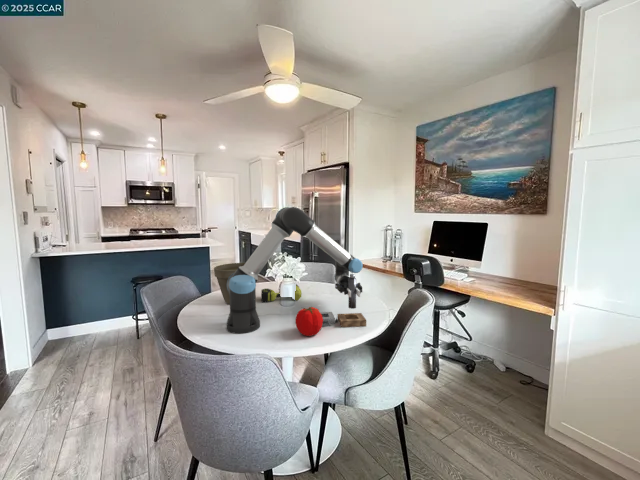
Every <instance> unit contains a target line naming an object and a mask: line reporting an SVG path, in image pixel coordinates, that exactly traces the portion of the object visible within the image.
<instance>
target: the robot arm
mask: <svg viewBox="0 0 640 480" xmlns="http://www.w3.org/2000/svg"><path fill="white" fill-rule="evenodd" d="M293 232H294V233H296V234H298V235H300V236H301V237H306V238H307V239H308V240H309V241H310V242H312V243H313V244H314V245H315V246H316V247H318V248H320V250H322V251H323V252H324V253H326V254H327V255H328V256H330V257H331V258H332V259H333V260H334V261H335V262H334V263H335V265H334V266H335V273H334V281H335V284H334V288H335V289H336V290H337V291H338V292H339V293H340V294H343V295H346V296H348V298H349V297H351V291H350V290H349V278H350V274H351V273H352V274H358V273H360V272H362V271H363V270H362V269H363V266H364V265H363V262H362V260H360V259H359V258H356V257H355V256H354V255H352V254H351V253H350V252H349V251H347V250H346V249H345V248H344V247H342V246H341V245H340V244H339V243H338V242H336V241H335V240H334V239H333V238H332V237H331V236H329V235H328V233H326V232H325V231H323V230H322V229H321V228H320V227H318V225H316V222H315V220H314V219H312V218H311V217H310V216H309V215H308V214H307V213H306V212H305V211H304V210H302V209H300V208H299V207H297V206H291V207H289V206H287V207H285V206H284V207H282V208H280V209H279V210H278V211H277V213H276V214H275V218H274V219H273V221H272V222H271V228H270V230H269V231H268V232H267V233H266V235H265V236H264V238H263V239H262V241H260V243H259V244H258V246H257V247H256V249H255V250H254V251H253V252H252V254H251V255H250V256H249V258H248V259H247V260H246V262H244V263H245V265H244V266H240V267H239V268H238V269H237V270H236V272H235V273H233V274H232V275H231V276H230V277H229V278H228V280H227V290H228V292H229V295H230V304H229V315H228V317H227V321H226V324H225V325H226V328H225V329H226V331H227V330H228V332H229V331H230V332H229V333H232V332H235V333H234V334H246V333H250V332H251V333H252V332H254V331H256V330H258V329H259V328H260V327H261V320H260V318H259V315H258V312H257V300H256V299H257V297H256V296H257V295H256V293H257V292H256V289H257V288H256V286H257V282H258V281H259V278H258V277H259V274H260V273H261V272H262V270H263V269H264V267H265V266H266V265H267V263H268V262H269V260H270V259H271V257H272V256H273V255H274V254H275V252H276V251H277V250H278V248H279V247H280V246H281V244H282V243H283V242H284V239H287V238H289V237H290V236H292V234H293ZM290 238H291V237H290ZM349 272H350V274H349ZM361 293H363V286H362V284H361V282H356V297H358V298H361Z"/></svg>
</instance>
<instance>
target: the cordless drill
mask: <svg viewBox="0 0 640 480" xmlns="http://www.w3.org/2000/svg"><path fill="white" fill-rule="evenodd" d="M295 284H296V291H295V300H296V301H295V302H298V301H299V300H300V299H301V298H302V294H303V293H302V289H301V288H300V286H299V285H298V284H297V283H295ZM260 293H261V303H263V304H264V303H265V304H266V303H269V302H274V301H275V300H276V299H277V298H281V297H280V294H279V293H280V292H275V291H274V289H271V288H262V289H261V291H260Z"/></svg>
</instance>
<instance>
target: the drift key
mask: <svg viewBox="0 0 640 480" xmlns="http://www.w3.org/2000/svg"><path fill="white" fill-rule="evenodd" d="M326 327H331V324H329V323H325V324H322V328H326Z"/></svg>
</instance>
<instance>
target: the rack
mask: <svg viewBox="0 0 640 480" xmlns="http://www.w3.org/2000/svg"><path fill="white" fill-rule="evenodd" d="M336 316H337V321H338V324H339V326H340V328H356V327H358V328H361V327H367V319H366V318H365V316H364V315H363V314H362V312H353V313H352V312H351V313H349V312H348V313H337V315H336Z"/></svg>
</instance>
